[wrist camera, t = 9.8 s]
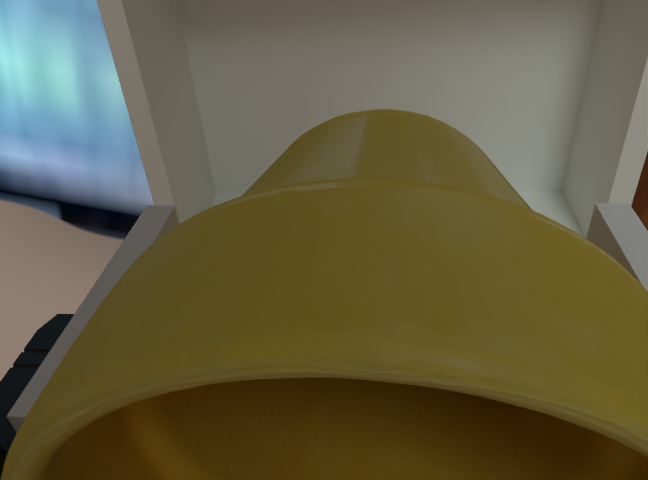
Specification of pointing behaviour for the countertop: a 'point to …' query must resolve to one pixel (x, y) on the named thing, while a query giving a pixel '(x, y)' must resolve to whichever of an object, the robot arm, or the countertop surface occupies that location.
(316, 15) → the crate
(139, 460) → the plant pot
